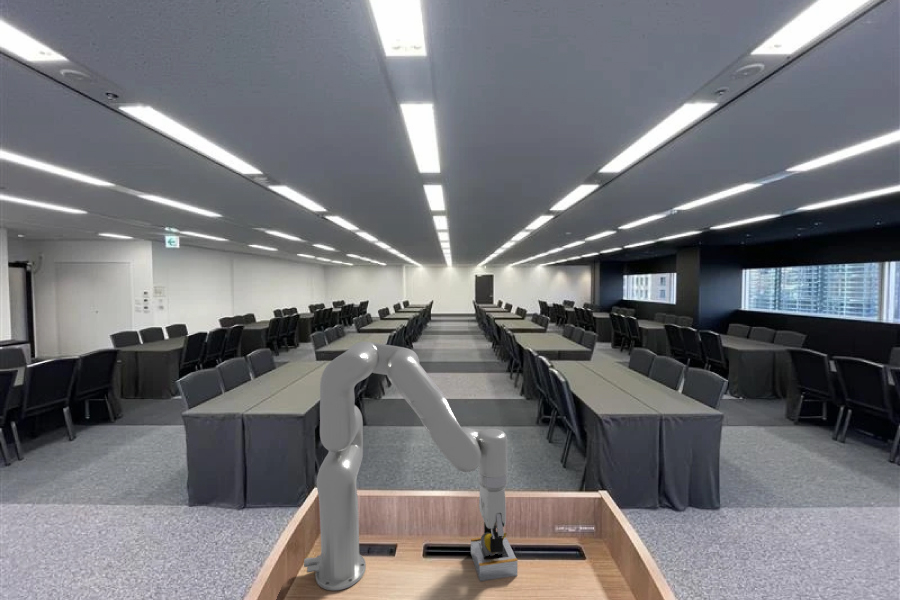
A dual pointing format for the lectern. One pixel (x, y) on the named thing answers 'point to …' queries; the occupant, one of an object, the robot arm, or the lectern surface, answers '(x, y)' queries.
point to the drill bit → (487, 543)
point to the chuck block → (493, 561)
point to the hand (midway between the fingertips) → (493, 542)
